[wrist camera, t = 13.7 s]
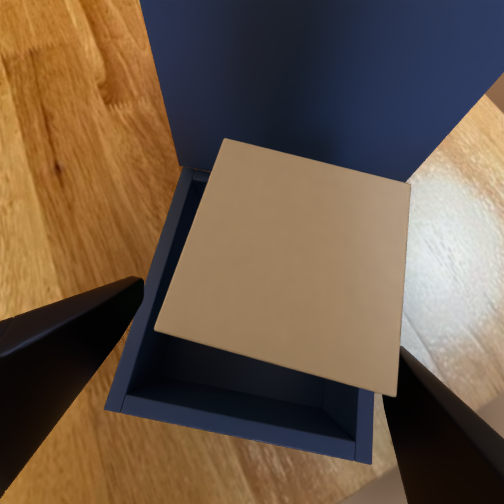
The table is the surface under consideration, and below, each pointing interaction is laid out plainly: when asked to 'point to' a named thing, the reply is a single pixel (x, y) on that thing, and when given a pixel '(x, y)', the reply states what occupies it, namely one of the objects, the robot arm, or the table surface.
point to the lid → (323, 76)
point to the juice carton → (295, 267)
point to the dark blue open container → (228, 371)
